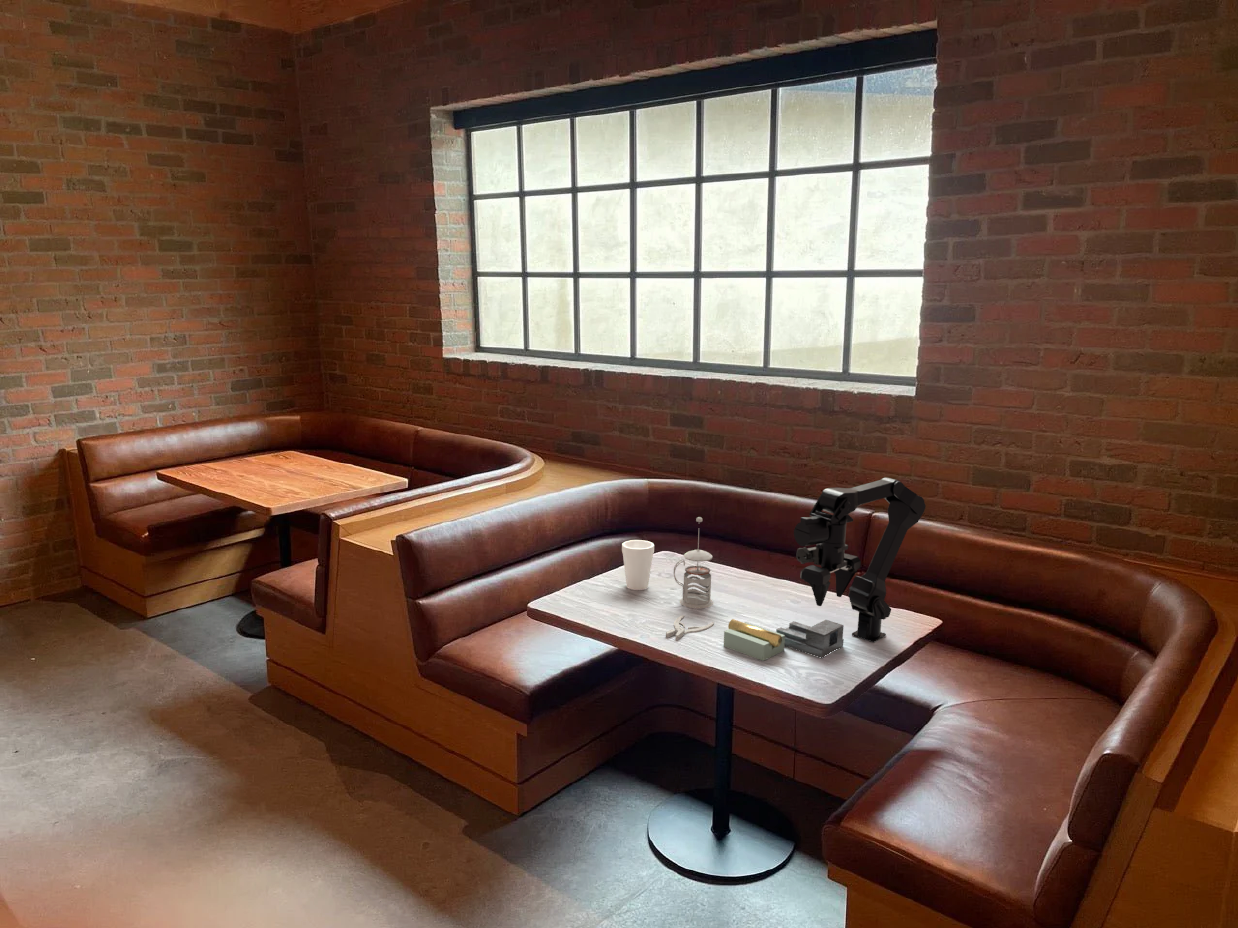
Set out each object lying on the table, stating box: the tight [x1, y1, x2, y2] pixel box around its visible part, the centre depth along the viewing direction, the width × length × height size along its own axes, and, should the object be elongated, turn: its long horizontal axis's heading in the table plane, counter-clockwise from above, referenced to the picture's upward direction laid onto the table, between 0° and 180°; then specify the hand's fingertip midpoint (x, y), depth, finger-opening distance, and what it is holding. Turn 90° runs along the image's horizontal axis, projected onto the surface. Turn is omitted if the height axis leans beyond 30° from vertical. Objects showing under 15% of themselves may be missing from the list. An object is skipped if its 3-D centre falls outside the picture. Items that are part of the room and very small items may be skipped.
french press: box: [673, 516, 715, 610], centre depth 245 cm, size 10×12×25 cm
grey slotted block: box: [775, 619, 845, 659], centre depth 219 cm, size 10×14×6 cm
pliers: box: [665, 614, 715, 641], centre depth 228 cm, size 10×2×15 cm
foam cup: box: [621, 539, 655, 591], centre depth 259 cm, size 10×9×13 cm
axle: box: [727, 618, 782, 647], centre depth 216 cm, size 3×14×3 cm, turn 46°
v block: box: [723, 621, 785, 662], centre depth 216 cm, size 9×12×4 cm
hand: (829, 601), depth 216 cm, fingers open, 9 cm apart
